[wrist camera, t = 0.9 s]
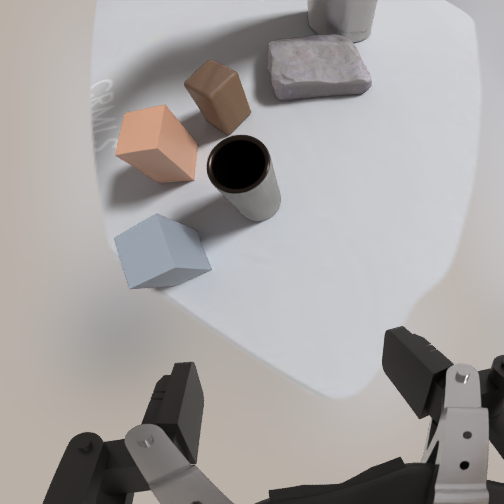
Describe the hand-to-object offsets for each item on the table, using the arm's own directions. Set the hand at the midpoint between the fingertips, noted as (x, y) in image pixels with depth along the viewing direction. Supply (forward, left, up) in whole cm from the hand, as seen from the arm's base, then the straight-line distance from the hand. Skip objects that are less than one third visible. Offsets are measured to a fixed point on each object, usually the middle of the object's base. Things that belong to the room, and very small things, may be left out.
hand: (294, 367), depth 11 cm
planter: (-12, -1, -17) cm, 21 cm away
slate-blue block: (-8, -10, -17) cm, 21 cm away
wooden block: (-23, -2, -17) cm, 29 cm away
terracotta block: (-19, -9, -17) cm, 27 cm away
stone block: (-27, +10, -18) cm, 34 cm away
